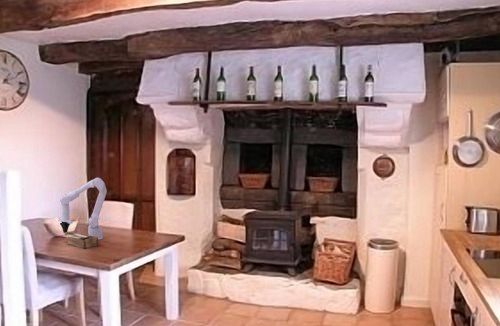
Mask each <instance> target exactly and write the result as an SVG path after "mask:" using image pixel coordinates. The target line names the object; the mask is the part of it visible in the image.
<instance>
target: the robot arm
mask: <svg viewBox="0 0 500 326" xmlns="http://www.w3.org/2000/svg"><path fill="white" fill-rule="evenodd" d="M90 188H97V190H98V192H99V193H98V195H97V198H96V201H95V205H94V208H93V211H92V213H91V216H90V217H89V218H88V221H87V223H88V227H87V235H90V236H94V237H98V241H100V240H104V237H103V227H102V226H101V225H99V220H100V214H101V211H102V208H103V204H104V201H105V198H106V196H107V192H108V190H107V188H106V183H105V182H104V181H103V179H102V178H100V177H95V178H94V179H91V180H90V181H87V182H86V183H85V184H83V185H82V186H80V187H79V188H78V189H71V190H70V192H68V193H67V194H66V193H65V194H64V196H61V198H60V218H57V222H60V223H59V225H60V226H61V229H62V232H63V234H64V233H66V232H69V227H70V225H71V224H74V223H73V222H74V221H73V220H71V219H70V217H71V216H70V202H73V201H74V200H75V199H77V198H79V197H80V194H81V193H83V192H85V191H86V190H88V189H90Z"/></svg>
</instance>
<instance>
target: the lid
mask: <svg viewBox="0 0 500 326" xmlns="http://www.w3.org/2000/svg"><path fill="white" fill-rule="evenodd" d="M85 235H86V234H85ZM85 235H81V234H80V233H75V231H67V232H66V233H63V234H62V237H63V238H67V239H68V236H69V237H73V238H78V239H82V238H87V237H88V236H85Z"/></svg>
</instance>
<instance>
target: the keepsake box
mask: <svg viewBox="0 0 500 326" xmlns="http://www.w3.org/2000/svg"><path fill="white" fill-rule="evenodd" d="M80 235H85V236H88V237H87V238H82V239H78V238H73V237H69V236H68V238H67V245H68V246H69V247H70V246H71V247H75V248H79V249H83V250H84V249H86V250H87V249H90V248H95V247H99V240H98V237H94V236H90V235H88V234H84V233H81V234H80Z"/></svg>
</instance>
